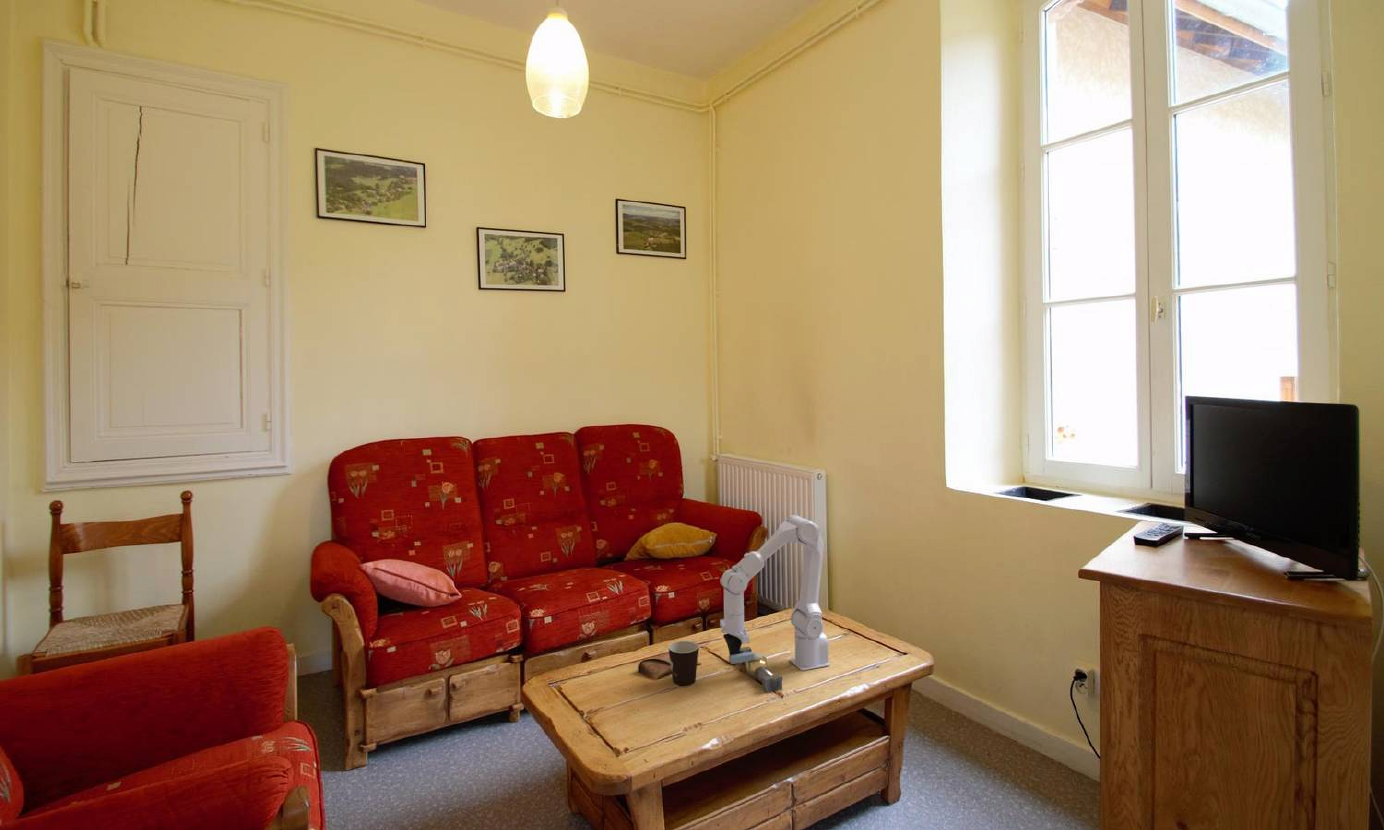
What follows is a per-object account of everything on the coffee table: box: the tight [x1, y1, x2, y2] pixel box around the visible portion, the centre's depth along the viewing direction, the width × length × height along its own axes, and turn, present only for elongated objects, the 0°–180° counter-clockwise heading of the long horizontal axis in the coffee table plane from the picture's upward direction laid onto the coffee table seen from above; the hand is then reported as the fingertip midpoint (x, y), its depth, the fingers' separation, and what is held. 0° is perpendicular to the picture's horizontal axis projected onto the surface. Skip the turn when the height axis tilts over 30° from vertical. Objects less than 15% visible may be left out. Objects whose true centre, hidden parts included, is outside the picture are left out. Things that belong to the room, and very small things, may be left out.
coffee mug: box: [667, 640, 700, 688], centre depth 191 cm, size 12×9×10 cm
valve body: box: [739, 646, 783, 694], centre depth 193 cm, size 22×6×4 cm, turn 20°
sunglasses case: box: [637, 652, 702, 682], centre depth 199 cm, size 18×7×7 cm, turn 129°
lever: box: [728, 651, 763, 665], centre depth 192 cm, size 10×3×2 cm, turn 110°
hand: (734, 659), depth 192 cm, fingers closed
